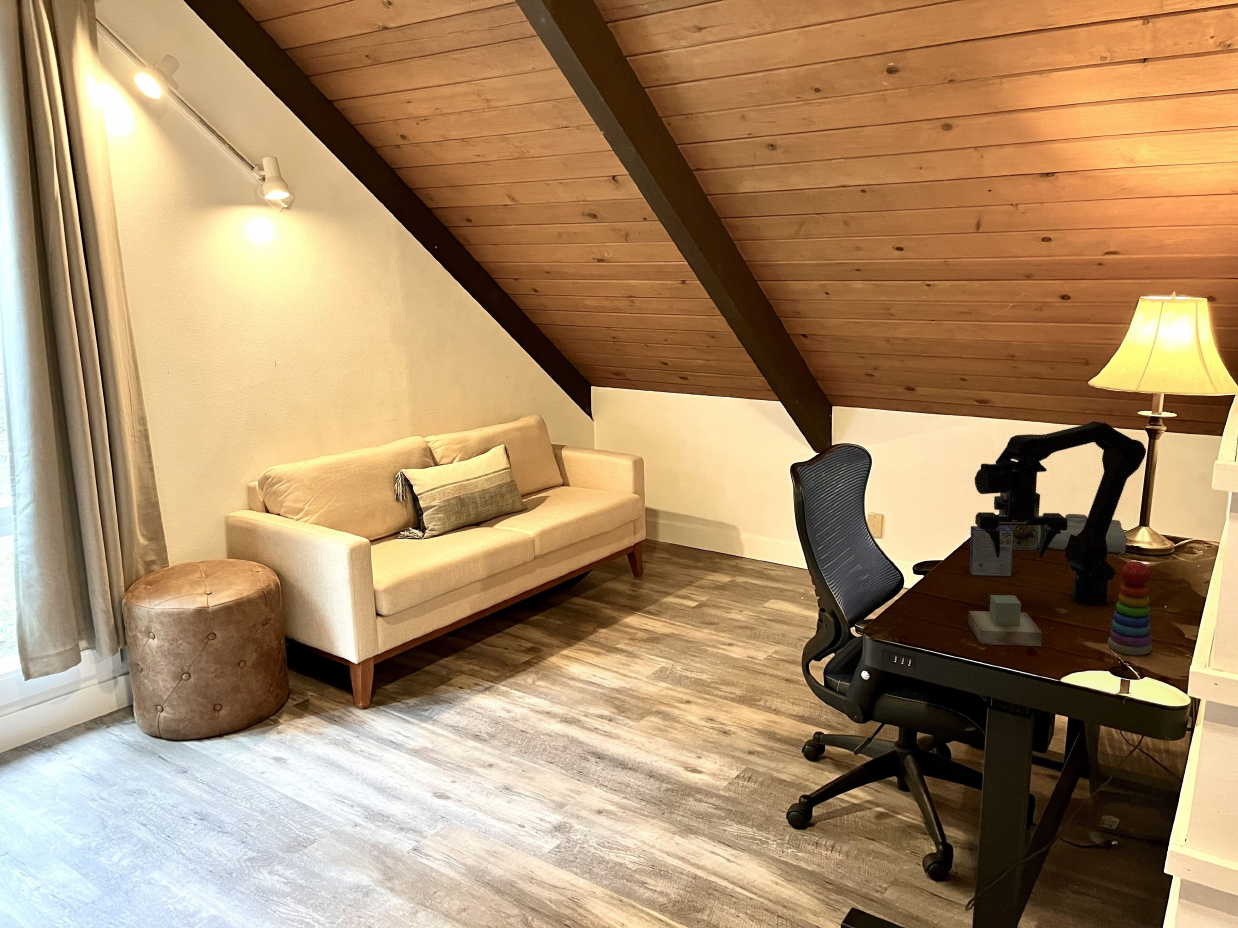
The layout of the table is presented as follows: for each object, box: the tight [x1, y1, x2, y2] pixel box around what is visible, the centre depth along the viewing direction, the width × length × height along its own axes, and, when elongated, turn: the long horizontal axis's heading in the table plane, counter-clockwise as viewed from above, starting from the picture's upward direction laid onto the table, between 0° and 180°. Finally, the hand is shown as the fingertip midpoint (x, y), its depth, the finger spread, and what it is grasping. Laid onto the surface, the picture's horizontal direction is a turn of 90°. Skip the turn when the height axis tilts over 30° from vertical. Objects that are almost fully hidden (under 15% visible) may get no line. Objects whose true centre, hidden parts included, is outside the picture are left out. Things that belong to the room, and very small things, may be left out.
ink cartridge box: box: [969, 525, 1013, 577], centre depth 237 cm, size 10×6×14 cm, turn 78°
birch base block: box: [968, 610, 1043, 647], centre depth 196 cm, size 12×12×3 cm
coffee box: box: [998, 491, 1041, 551], centre depth 259 cm, size 9×6×16 cm
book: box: [1037, 513, 1129, 555], centre depth 261 cm, size 19×28×8 cm
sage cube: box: [989, 594, 1022, 626], centre depth 195 cm, size 5×5×5 cm
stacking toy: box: [1107, 560, 1153, 656], centre depth 185 cm, size 8×8×19 cm
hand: (1018, 557), depth 211 cm, fingers open, 9 cm apart
